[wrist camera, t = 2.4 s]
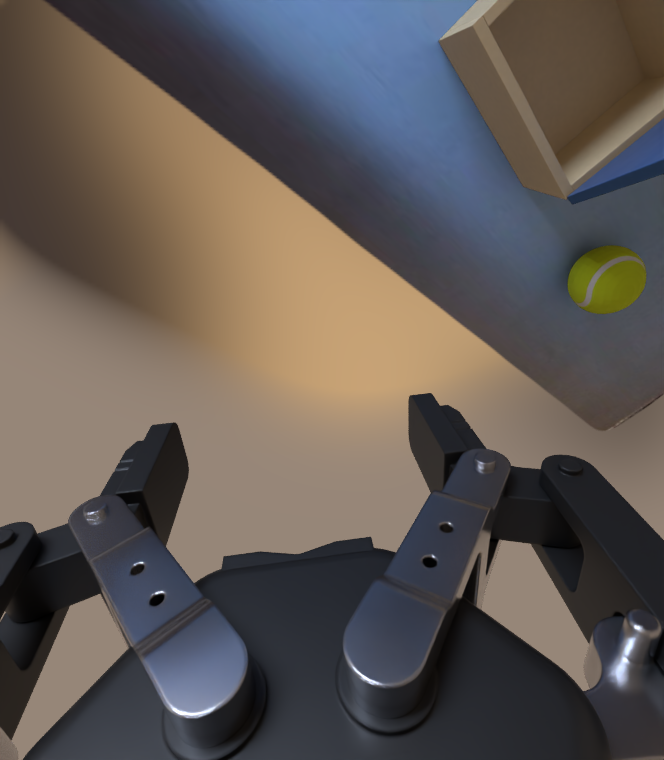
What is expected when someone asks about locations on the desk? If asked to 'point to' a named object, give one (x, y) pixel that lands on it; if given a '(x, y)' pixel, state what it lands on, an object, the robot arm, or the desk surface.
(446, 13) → the desk surface
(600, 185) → the blue lid
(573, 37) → the storage box
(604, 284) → the tennis ball
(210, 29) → the desk surface
